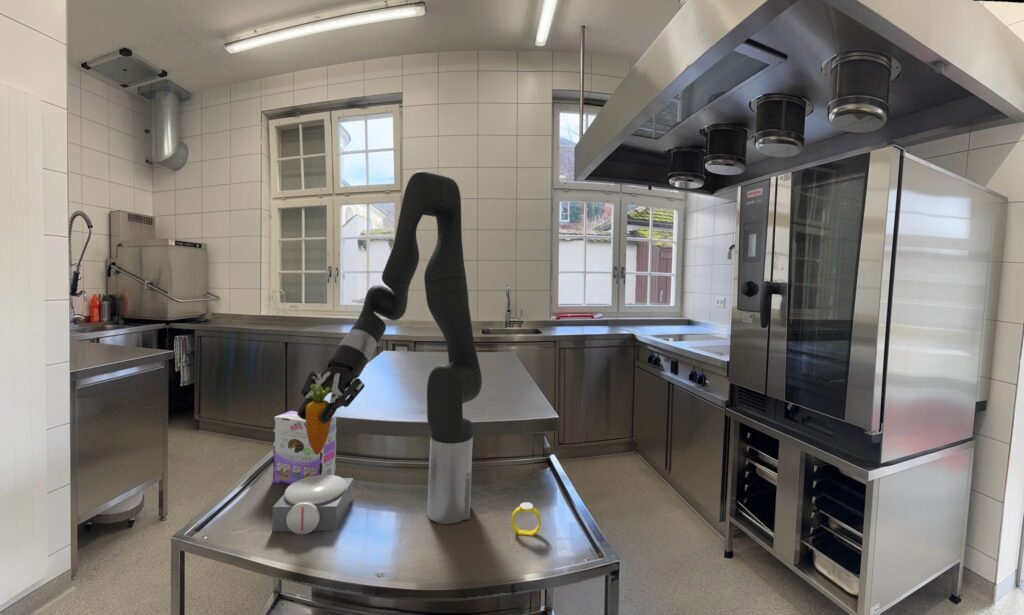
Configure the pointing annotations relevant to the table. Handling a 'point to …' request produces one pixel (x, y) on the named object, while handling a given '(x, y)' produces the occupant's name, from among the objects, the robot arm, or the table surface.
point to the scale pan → (315, 489)
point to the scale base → (311, 513)
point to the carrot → (317, 419)
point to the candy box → (300, 450)
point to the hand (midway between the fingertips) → (311, 419)
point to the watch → (526, 508)
